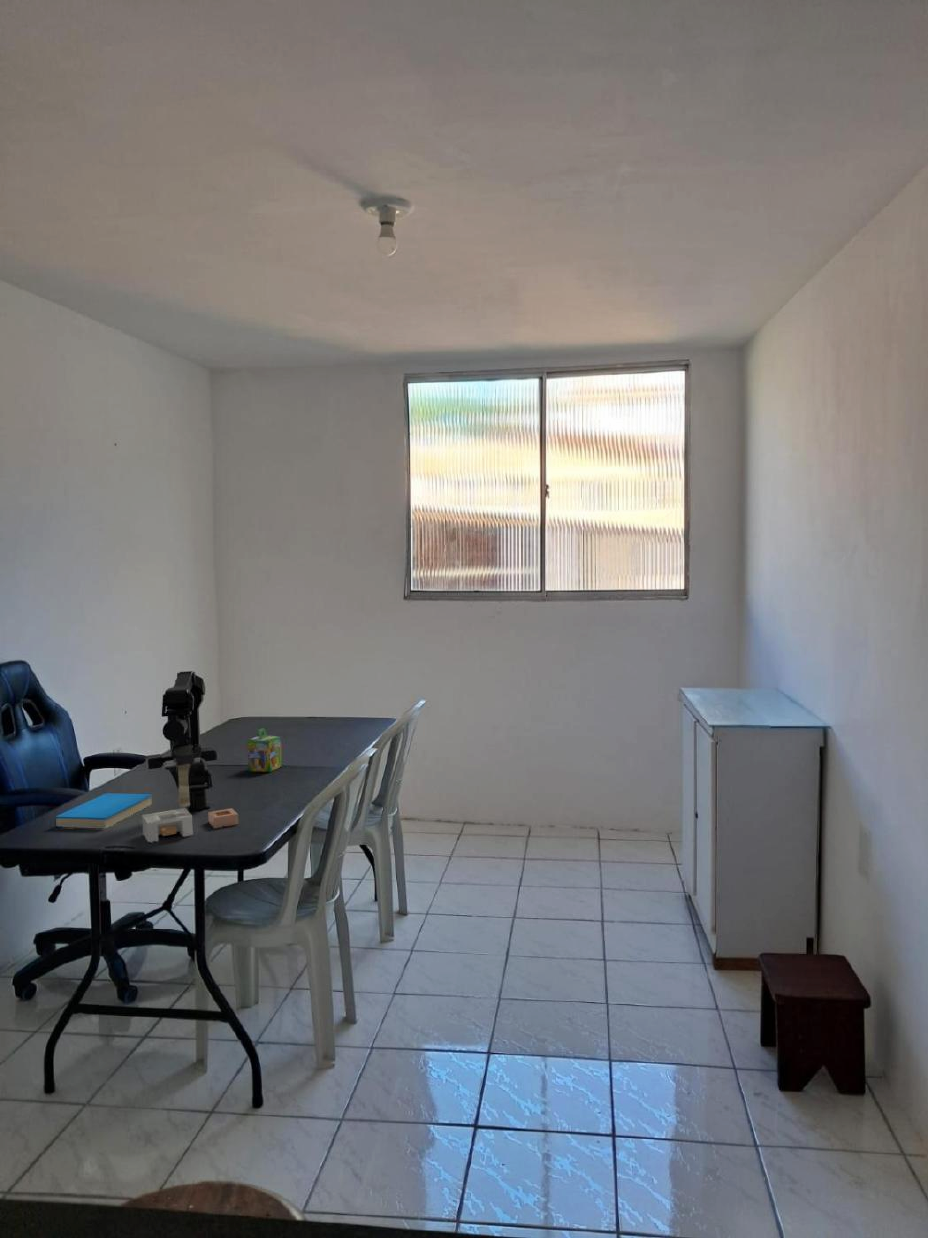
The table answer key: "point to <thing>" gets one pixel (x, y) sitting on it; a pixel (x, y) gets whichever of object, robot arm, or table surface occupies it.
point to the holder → (223, 818)
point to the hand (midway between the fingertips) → (183, 787)
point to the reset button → (168, 830)
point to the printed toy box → (264, 753)
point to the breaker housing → (167, 823)
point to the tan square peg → (183, 785)
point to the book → (104, 810)
